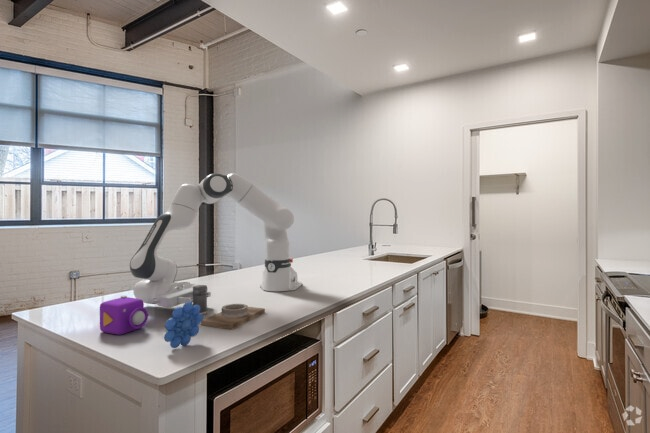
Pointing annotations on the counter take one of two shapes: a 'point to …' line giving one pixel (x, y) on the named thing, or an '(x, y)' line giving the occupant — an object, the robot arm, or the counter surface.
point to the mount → (233, 316)
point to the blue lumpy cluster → (183, 325)
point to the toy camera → (122, 315)
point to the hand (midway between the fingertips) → (200, 297)
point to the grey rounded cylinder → (200, 298)
